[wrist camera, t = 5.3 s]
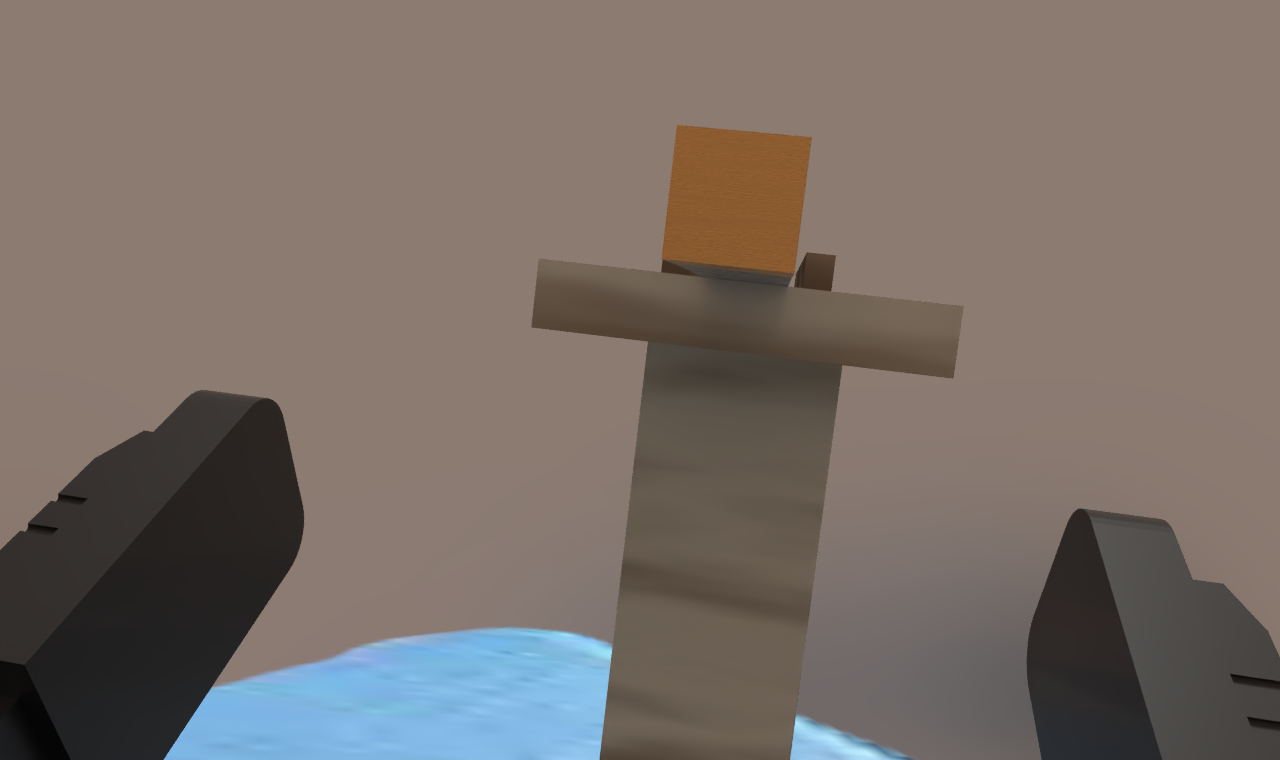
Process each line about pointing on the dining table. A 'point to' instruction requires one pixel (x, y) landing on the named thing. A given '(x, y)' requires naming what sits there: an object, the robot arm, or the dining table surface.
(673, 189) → the bar
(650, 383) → the stand
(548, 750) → the dining table surface
